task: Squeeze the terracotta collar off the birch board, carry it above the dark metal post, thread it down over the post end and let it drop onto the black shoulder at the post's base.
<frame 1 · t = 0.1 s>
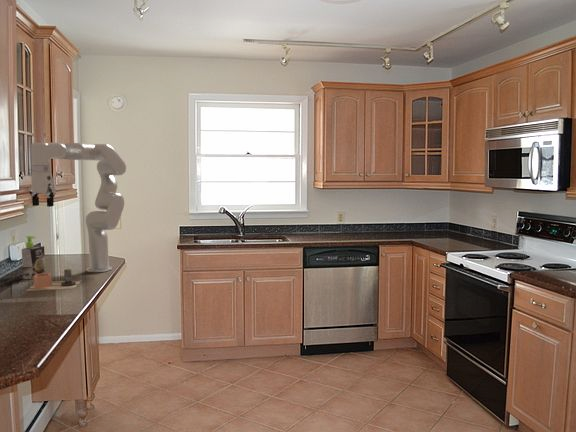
hand: (43, 205, 247), 37 cm above the countertop, tool pointing down, fingers open, 9 cm apart
collar: (43, 285, 241), point 1 cm above the countertop, touching post board
coffee box: (34, 280, 259), on the countertop
post board: (54, 288, 241), on the countertop
soap dispenser: (32, 275, 270), on the countertop
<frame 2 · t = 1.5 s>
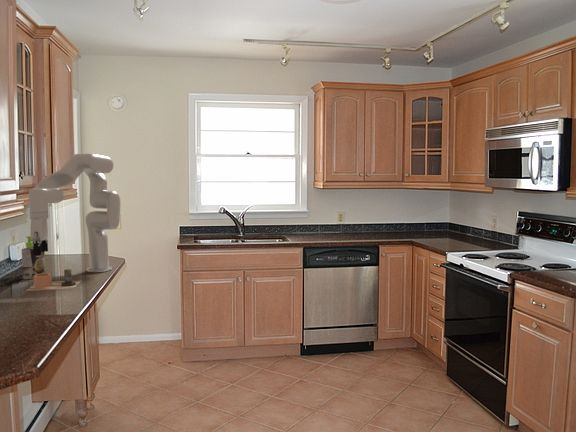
hand: (40, 253, 239), 17 cm above the countertop, tool pointing down, fingers open, 9 cm apart
nothing on the countertop moved.
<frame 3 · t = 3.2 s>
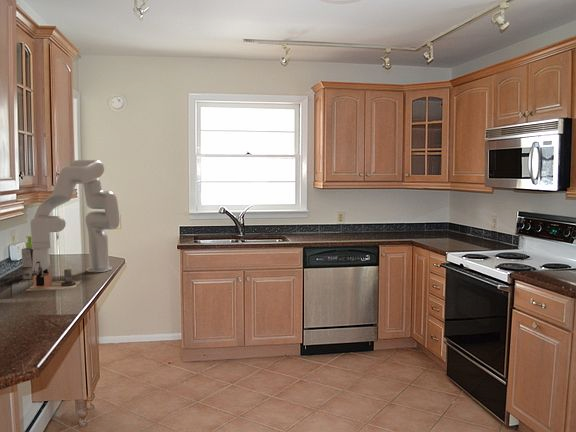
hand: (43, 283, 240), 3 cm above the countertop, tool pointing down, fingers closed on collar, 7 cm apart
collar: (43, 285, 241), point 2 cm above the countertop, touching gripper, post board
everything else where it was.
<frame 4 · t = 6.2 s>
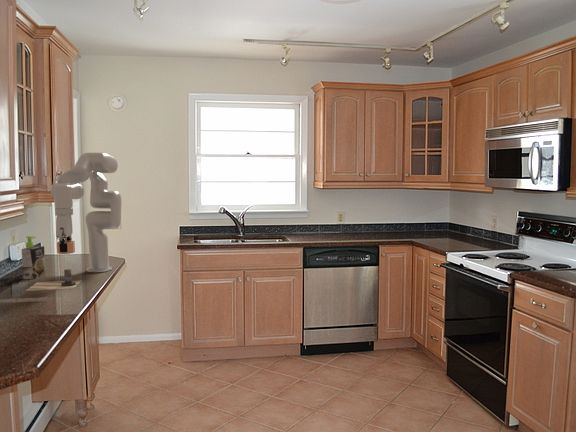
hand: (66, 250, 240), 18 cm above the countertop, tool pointing down, fingers closed on collar, 7 cm apart
collar: (66, 252, 240), point 17 cm above the countertop, touching gripper
everything else where it was.
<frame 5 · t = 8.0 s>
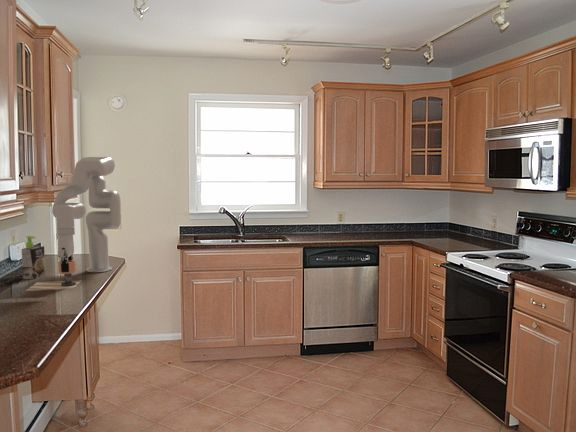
hand: (67, 269, 241), 9 cm above the countertop, tool pointing down, fingers closed on collar, 7 cm apart
collar: (67, 272, 241), point 7 cm above the countertop, touching gripper
everything else where it was.
when the fingers open (5 cm above the countertop, at t = 9.3 s): collar stays where it is, resting on post board.
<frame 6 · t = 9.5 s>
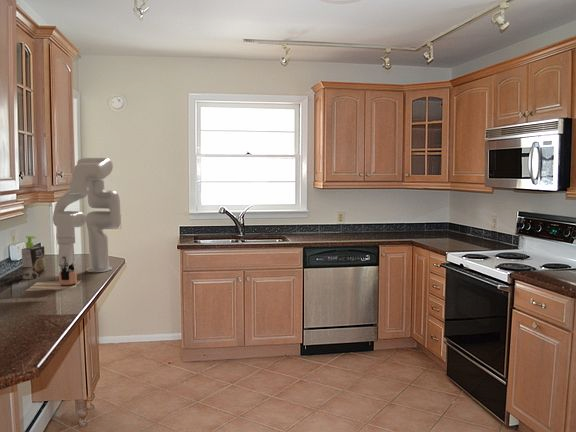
hand: (68, 277, 242), 5 cm above the countertop, tool pointing down, fingers open, 8 cm apart
collar: (68, 282, 242), point 2 cm above the countertop, touching post board
everything else where it was.
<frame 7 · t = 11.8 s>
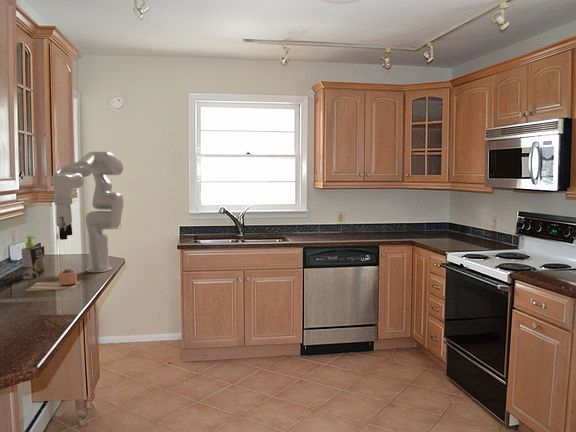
hand: (66, 237, 246), 23 cm above the countertop, tool pointing down, fingers open, 9 cm apart
nothing on the countertop moved.
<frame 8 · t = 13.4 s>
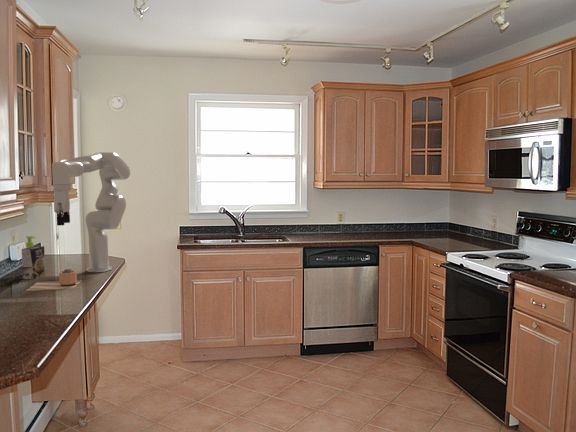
hand: (63, 224, 250), 28 cm above the countertop, tool pointing down, fingers open, 9 cm apart
nothing on the countertop moved.
at the end: collar 0.0 cm from the target spot on the post board, point 2.5 cm above the post board's base; collar tilted 0°; the gripper is holding nothing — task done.
